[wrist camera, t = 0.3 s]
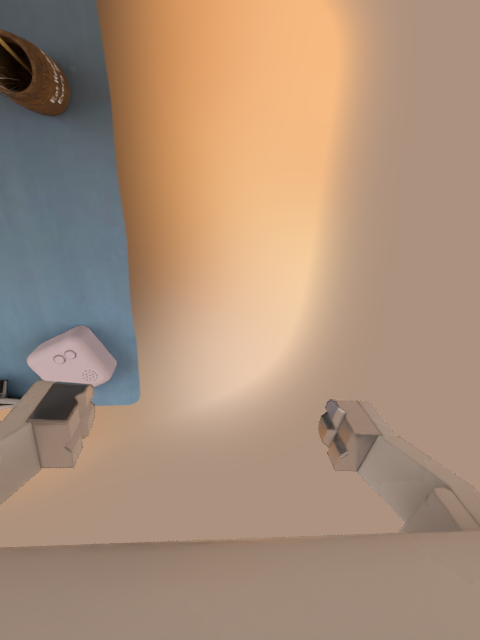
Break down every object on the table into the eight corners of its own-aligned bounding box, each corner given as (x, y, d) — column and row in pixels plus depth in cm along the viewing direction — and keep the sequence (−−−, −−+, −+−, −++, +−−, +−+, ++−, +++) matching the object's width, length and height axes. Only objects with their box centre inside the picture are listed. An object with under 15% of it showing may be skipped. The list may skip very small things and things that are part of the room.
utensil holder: (31, 121, 34) (-48, 92, 23) (5, 53, 31) (-99, -15, 20) (80, 114, 34) (23, 84, 23) (59, 47, 31) (-17, -23, 21)
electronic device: (62, 404, 47) (18, 362, 43) (73, 386, 52) (34, 346, 47) (112, 381, 47) (73, 336, 42) (120, 365, 51) (84, 322, 46)
